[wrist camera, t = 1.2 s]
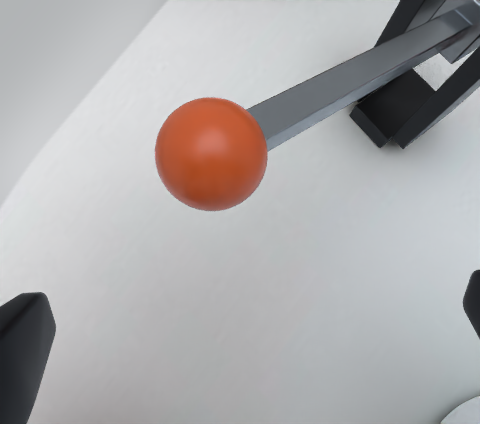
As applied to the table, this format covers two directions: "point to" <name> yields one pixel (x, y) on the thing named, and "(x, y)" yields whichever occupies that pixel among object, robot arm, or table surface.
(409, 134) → the switch bracket
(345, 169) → the table surface
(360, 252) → the table surface
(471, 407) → the coffeepot
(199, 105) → the switch
